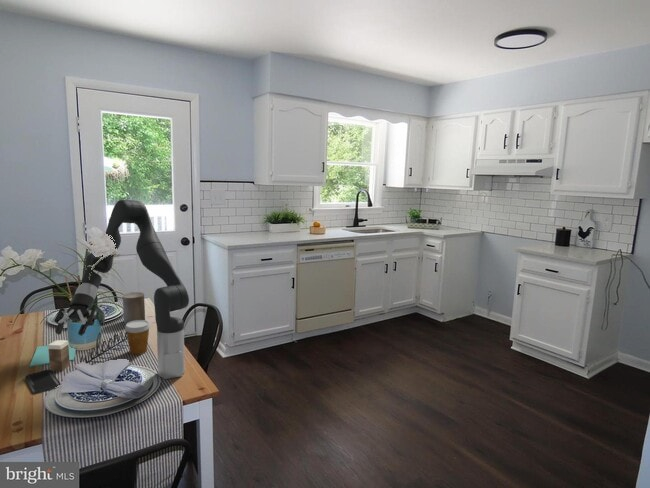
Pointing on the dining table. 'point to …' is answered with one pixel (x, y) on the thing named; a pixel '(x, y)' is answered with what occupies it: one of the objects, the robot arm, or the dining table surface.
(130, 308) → the pillar candle
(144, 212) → the robot arm
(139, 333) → the disposable coffee cup
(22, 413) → the dining table surface
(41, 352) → the teal mat
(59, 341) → the walnut block
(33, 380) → the phone
